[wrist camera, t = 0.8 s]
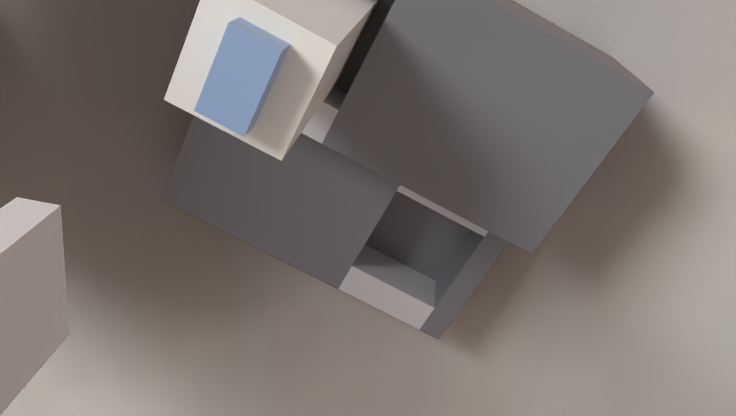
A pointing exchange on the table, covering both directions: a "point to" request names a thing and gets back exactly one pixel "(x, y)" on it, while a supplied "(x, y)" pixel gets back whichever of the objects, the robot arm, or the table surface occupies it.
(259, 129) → the cream long block
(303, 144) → the grey socket holder
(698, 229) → the table surface
